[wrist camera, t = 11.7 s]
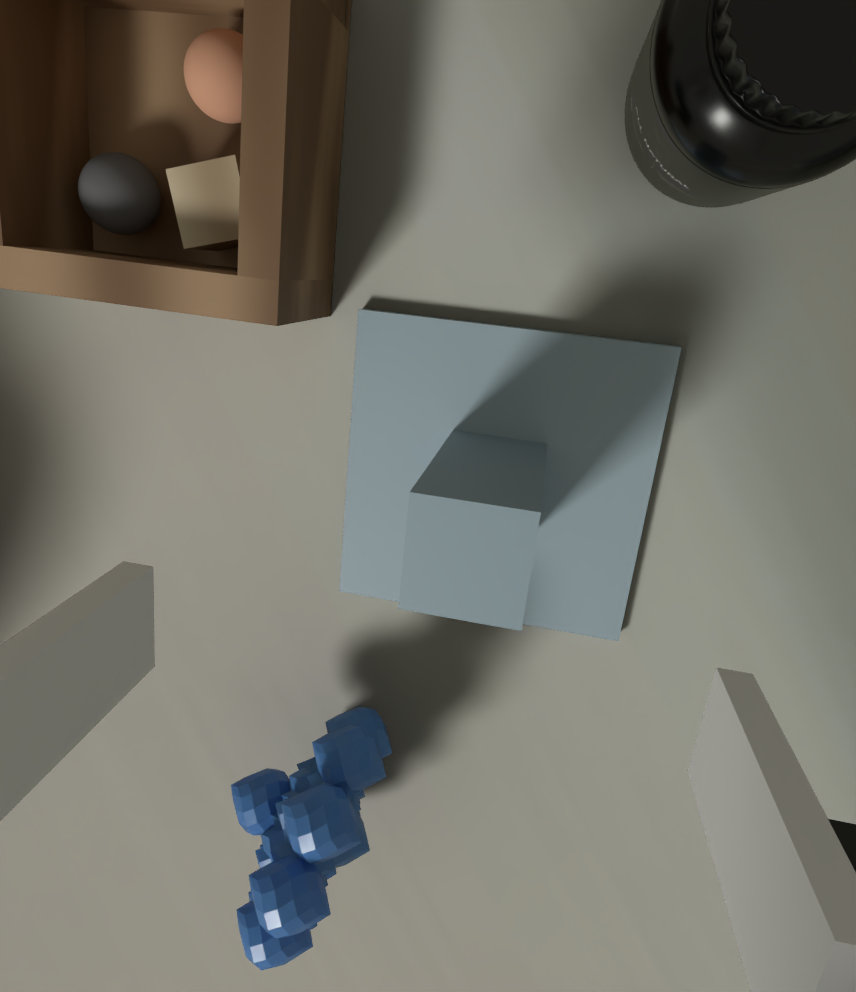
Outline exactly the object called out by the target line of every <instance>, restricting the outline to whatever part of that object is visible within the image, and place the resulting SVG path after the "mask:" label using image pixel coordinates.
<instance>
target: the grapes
mask: <svg viewBox="0 0 856 992" xmlns="http://www.w3.org/2000/svg"><path fill="white" fill-rule="evenodd" d="M326 727H327V731H328V734H326V735H324V736H323V737H321V738H319V739H317V740H316V741H314V742H312V744H313V749H314V754H315V757H314V758H312V759H309V760H307V761H304V762H302V763H299V764H297V766H298V769H299V771H297V772H295V773H293V774H292V775H290V776H289V777H290V779H289V778H288V776H287V775H286V774H285V772H283V771H280V770H277V769H268V768H267V769H264V770H262V771H259V772H257V773H254V774H252V775H250V776H247V777H245V778H243V779H241V780H239V781H238V782H236V783H234V784H232V785H231V788H232V796H233V802H234V806H235V810H236V814H237V817H238V821H239V824H240V825H241V826H242V827H243V828H244V830H245V831H246V832H248V833H250V834H252V835H261V837H262V843H263V844H262V845H260V848H261V849H259V850H256V855H257V860H258V864H259V867H260V869H258V870H257V871H255V872H253V873H252V874H250V875H249V879H250V887H251V892H249V900H250V902H248V903H247V904H245V905H244V906H242V907H240V908H239V909H237V917H238V925H239V930H240V934H241V939H242V943H243V947H244V950H245V954H246V957H247V958H248V959H249V960H250V961H251V962H252V963H253V964H254V965H256V966H257V967H258V968H259V969H260V970H264V969H269V968H273V967H277V966H281V965H284V964H286V963H288V962H289V961H291V960H292V959H294V958H296V957H297V956H299V955H300V954H302V953H303V952H305V951H306V950H308V949H310V948H311V947H313V944H312V938H311V932H310V930H311V929H313V928H314V927H316V926H317V922H319V921H320V920H322V919H324V918H325V917H327V916H328V915H330V909H329V903H328V898H327V893H326V889H325V887H326V886H327V885H328V883H327V879H329V878H330V877H332V876H334V875H335V874H336V869H335V868H337V867H340V866H343V865H346V864H348V863H350V862H351V861H353V860H355V859H357V858H358V857H360V856H362V855H363V854H365V853H366V852H368V851H370V849H369V845H368V841H367V836H366V832H365V828H364V824H363V821H362V819H361V817H360V812H359V810H361V808H360V799H361V798H363V797H365V795H364V791H363V789H365V788H367V787H370V786H372V785H374V784H375V783H377V782H379V781H380V780H382V779H384V778H385V777H386V773H385V769H384V765H383V760H382V759H383V758H385V757H386V756H388V755H390V754H391V753H392V750H391V746H390V741H389V737H388V734H387V730H386V726H385V725H384V723H383V721H382V719H381V718H380V716H379V715H378V713H377V712H376V710H374V709H370V708H365V707H357V708H354V709H352V710H349V711H346V712H344V713H342V714H340V715H337V716H335V717H334V718H332V719H330V720H328V721H327V722H326Z"/></svg>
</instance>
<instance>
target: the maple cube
mask: <svg viewBox="0 0 856 992" xmlns="http://www.w3.org/2000/svg"><path fill="white" fill-rule="evenodd" d="M166 174H167V178H168V182H169V187H170V191H171V195H172V200H173V204H174V208H175V213H176V217H177V221H178V226H179V230H180V234H181V239H182V243H183V247H184V249H193V250H209V251H221V250H227V249H233V248H238V231H239V189H240V156H237V155H231V156H226V157H222V158H217V159H212V160H207V161H202V162H198V163H193V164H188V165H183V166H178V167H174V168H169V169H166Z"/></svg>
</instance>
